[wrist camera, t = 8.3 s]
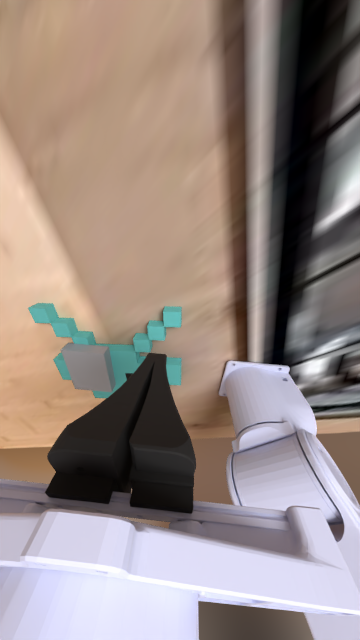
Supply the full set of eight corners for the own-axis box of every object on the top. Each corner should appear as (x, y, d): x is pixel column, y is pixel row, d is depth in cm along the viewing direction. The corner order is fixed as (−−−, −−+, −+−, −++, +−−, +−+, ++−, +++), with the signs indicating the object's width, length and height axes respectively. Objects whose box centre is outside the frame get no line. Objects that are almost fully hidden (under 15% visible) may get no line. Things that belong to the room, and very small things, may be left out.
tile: (103, 353, 23) (60, 349, 23) (111, 392, 27) (75, 388, 27) (108, 346, 24) (68, 342, 24) (115, 384, 28) (80, 380, 28)
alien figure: (41, 301, 24) (81, 393, 33) (27, 307, 22) (75, 404, 31) (181, 304, 23) (181, 399, 32) (180, 312, 21) (180, 410, 30)
